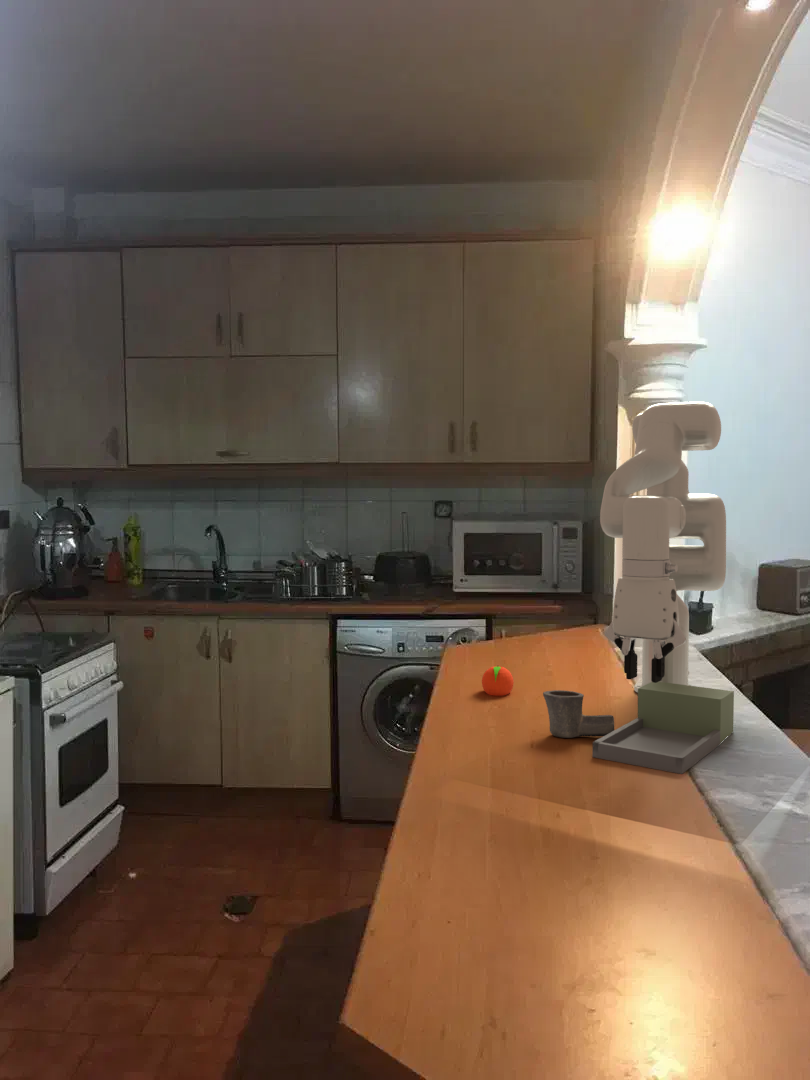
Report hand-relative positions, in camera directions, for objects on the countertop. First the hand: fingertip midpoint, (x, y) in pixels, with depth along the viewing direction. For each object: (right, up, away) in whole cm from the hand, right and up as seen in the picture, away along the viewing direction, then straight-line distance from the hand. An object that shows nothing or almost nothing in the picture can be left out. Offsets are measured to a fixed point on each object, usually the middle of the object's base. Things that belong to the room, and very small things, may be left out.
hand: (644, 678), depth 142 cm
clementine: (-20, -11, +43) cm, 48 cm away
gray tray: (+6, -13, +7) cm, 15 cm away
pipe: (-8, -13, +13) cm, 20 cm away
